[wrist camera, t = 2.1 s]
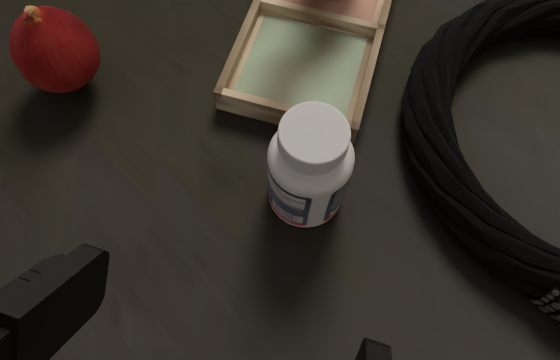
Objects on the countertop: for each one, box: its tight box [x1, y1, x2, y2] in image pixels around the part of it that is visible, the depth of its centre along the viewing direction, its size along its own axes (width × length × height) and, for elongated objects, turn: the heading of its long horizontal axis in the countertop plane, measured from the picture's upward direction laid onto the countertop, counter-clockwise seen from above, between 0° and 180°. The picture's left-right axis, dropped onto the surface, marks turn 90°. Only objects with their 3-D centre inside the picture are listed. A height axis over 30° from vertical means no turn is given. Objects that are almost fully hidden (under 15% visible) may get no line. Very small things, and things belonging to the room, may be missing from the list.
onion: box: [9, 5, 100, 93], centre depth 32 cm, size 6×6×8 cm
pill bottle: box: [267, 101, 355, 228], centre depth 28 cm, size 5×5×9 cm
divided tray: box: [213, 0, 392, 145], centre depth 37 cm, size 11×20×2 cm, turn 164°
